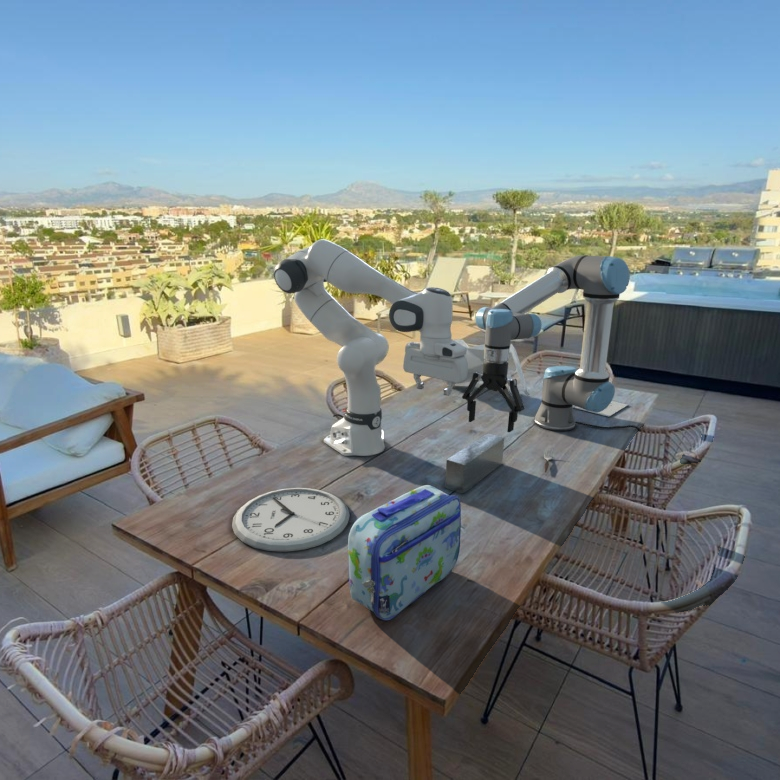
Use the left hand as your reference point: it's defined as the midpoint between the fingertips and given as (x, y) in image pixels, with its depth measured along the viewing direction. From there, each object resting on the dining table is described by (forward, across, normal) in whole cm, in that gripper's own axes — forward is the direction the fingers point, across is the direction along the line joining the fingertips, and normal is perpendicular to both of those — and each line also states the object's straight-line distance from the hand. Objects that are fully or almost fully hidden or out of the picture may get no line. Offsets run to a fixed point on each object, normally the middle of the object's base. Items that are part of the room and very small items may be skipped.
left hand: (433, 391), depth 153 cm
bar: (+27, +11, +8) cm, 30 cm away
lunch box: (+27, +25, -48) cm, 61 cm away
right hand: (+14, +10, +18) cm, 25 cm away
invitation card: (+27, +23, +102) cm, 107 cm away
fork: (+27, +26, +30) cm, 48 cm away
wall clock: (+27, -14, -44) cm, 53 cm away
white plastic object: (+27, -28, +86) cm, 94 cm away
